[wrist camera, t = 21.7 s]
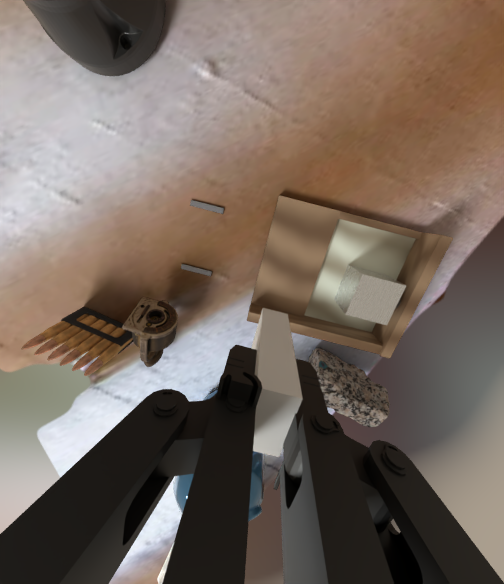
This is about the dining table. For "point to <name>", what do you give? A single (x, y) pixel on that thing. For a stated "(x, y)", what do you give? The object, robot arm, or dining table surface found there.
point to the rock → (350, 389)
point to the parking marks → (211, 208)
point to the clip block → (369, 294)
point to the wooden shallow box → (340, 272)
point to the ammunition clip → (84, 339)
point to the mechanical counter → (152, 328)
